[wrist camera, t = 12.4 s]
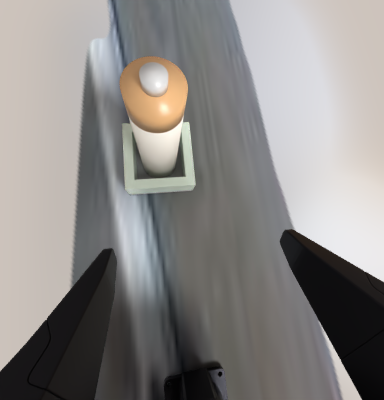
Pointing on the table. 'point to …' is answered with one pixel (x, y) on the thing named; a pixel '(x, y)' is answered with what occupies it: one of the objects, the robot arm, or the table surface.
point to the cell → (155, 111)
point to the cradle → (145, 184)
